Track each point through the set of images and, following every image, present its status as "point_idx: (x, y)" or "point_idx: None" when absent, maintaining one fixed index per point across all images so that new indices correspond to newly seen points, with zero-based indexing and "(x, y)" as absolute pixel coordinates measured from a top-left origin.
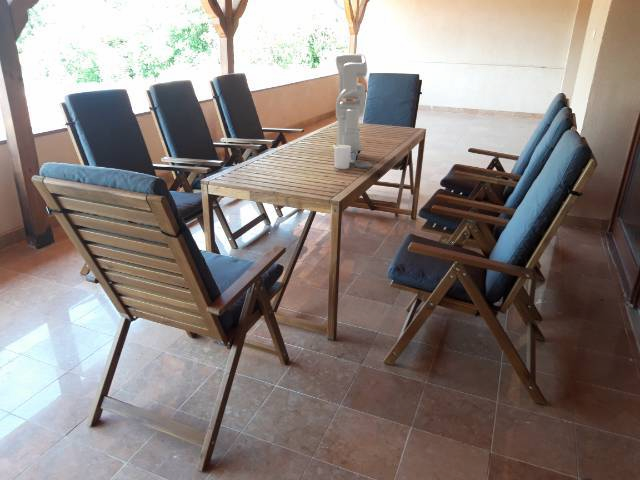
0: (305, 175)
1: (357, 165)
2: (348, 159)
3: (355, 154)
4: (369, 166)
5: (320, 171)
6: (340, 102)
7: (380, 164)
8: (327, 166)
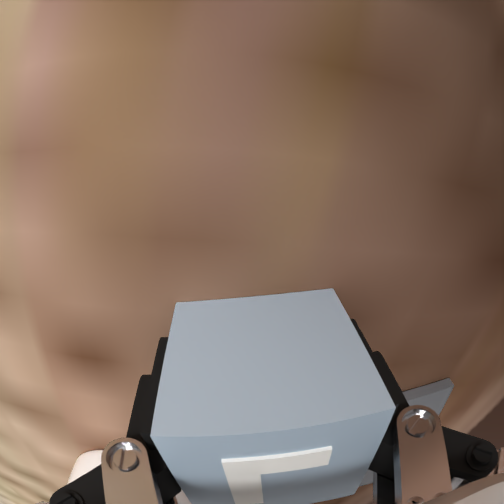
0: (6, 494)
1: None
2: None
3: (354, 487)
4: None
5: (32, 488)
6: None
7: (499, 393)
8: (19, 439)
